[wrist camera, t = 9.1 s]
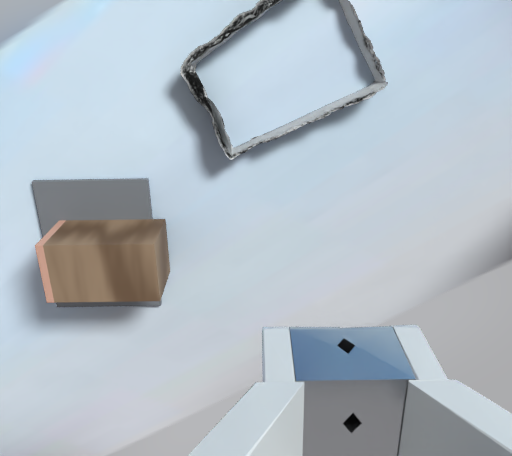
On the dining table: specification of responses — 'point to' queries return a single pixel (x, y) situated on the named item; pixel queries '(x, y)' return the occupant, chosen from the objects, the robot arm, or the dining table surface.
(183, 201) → the dining table surface
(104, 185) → the charcoal mat
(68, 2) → the dining table surface
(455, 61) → the dining table surface
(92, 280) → the brown rectangular block
